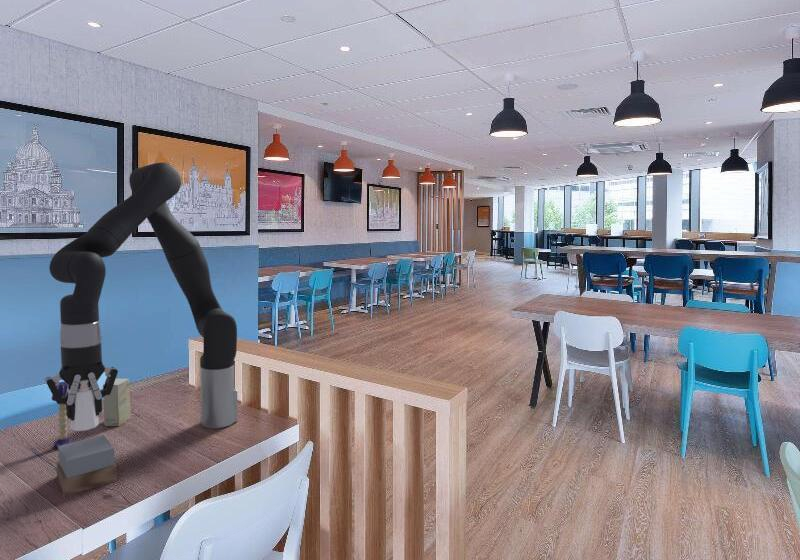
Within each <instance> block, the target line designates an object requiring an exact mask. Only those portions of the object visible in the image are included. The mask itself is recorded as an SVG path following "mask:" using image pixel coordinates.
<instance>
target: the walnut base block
mask: <svg viewBox="0 0 800 560" xmlns="http://www.w3.org/2000/svg"><path fill="white" fill-rule="evenodd" d="M56 477H57V480H58V483H59V486H60V489H61V493H62V494H63V497H65V496H70V495H73V494H77V493H80V492H83V491H87V490H90V489H93V488H97V487H100V486H104V485H107V484H110V483H114V482H118V465H117V464H116V463H115V465H113V466H110V467H106V468H103V469H99V470H96V471H92V472H89V473H86V474H82V475H79V476H75V477H72V478H68V479H67V477H66V475H65V473H64V471H63V470H62V468H61V466H60V464H59V460H58V461H56ZM69 494H70V495H69Z"/></svg>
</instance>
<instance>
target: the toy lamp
mask: <svg viewBox="0 0 800 560" xmlns="http://www.w3.org/2000/svg"><path fill="white" fill-rule="evenodd" d="M56 387H57V389H58V391H59V393H60V395H61V396H63V397H66V393H67V387H68V384H67V383H66V382H65V381H59V385H58V386H56ZM51 395H52V394H51ZM51 400H52V401H54V402H56V400H55V398H54V397H53V395H52V396H51ZM58 410H59V411H58V415H59V417H58V421H59V424H58V428H59V429H58V434H59V435H58V439H57V440H55V442H54V444H53V449H55V450H58V446H61V445H65V444H69V443H73V442H74V441H73V439H71V438H70V437H68V433H67V432H68V428H67V427H68V417H67V415H66V404H58Z"/></svg>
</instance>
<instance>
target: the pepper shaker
mask: <svg viewBox="0 0 800 560" xmlns="http://www.w3.org/2000/svg"><path fill="white" fill-rule="evenodd" d="M88 381H89V380H82V381H80V384H81V385H80V389H77V393H76V395H75V398H74V402H73V403H74V404H75V419H74V421H71V420H70V427H69V428H70V429H71V430H72V431H75V432H81V431H82V432H83V431H84V432H85V431H88V430H91V429H95V428H96V427H97V426H99V424H100V421H99V420H100V419H99V415H97V416H96V412H95V395H94V392H93V390H92V388H91V387H88V384H87V383H88Z"/></svg>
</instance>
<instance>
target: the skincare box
mask: <svg viewBox="0 0 800 560" xmlns="http://www.w3.org/2000/svg"><path fill="white" fill-rule="evenodd" d="M104 384H105V383H104ZM104 384H102V388H103V387H104ZM130 391H131V389H130V378H123V377H122V378H117V377H116V379H115V382H114V385H113V388H112V391H111V394H110V395H106V396H104V397H103V398H102V399H103V400H102V401H103V417H104V426H105V427H108V426H109V427H120V426H122V425H123V424H125V423H126V422H127V420H128V421H129V420H131V419H132V411H131V392H130ZM130 418H131V419H130Z"/></svg>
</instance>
